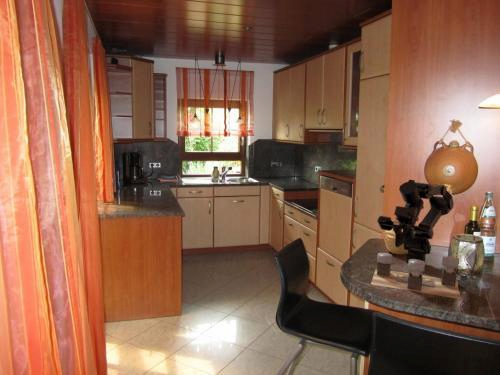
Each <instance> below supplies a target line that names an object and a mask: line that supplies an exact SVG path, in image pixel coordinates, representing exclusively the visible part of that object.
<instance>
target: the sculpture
mask: <svg viewBox="0 0 500 375" xmlns="http://www.w3.org/2000/svg"><path fill="white" fill-rule="evenodd" d="M402 231H403V229H402ZM383 241H384V244H385V247H386V249H387V250H388V252H390V254H391V253H392V254H395V255H408V250H404V243H403V244H402V245H401V246H399V247H396V246H395V233H394V231H393V228H392V230H390V231H387V230H384V231H383Z"/></svg>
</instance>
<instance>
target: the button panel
mask: <svg viewBox="0 0 500 375" xmlns="http://www.w3.org/2000/svg"><path fill="white" fill-rule="evenodd" d="M391 268H392V263H391V264H388V265H386V264H381V263H379V262H377V267H376V268H375V270H374V274H373V277H372V279H371V283H370V285H373V286H378V287H379V286H380V287H384V288H385V287H386V288H391V289H398V290H403V291H410V292H416V293H422V294H427V295H434V296H440V297H444V298H445V297H446V298H452V299H457V300H461V298H462V297H461V294H460V290H459V285H458V280H457V275H458V274H457V271H455V270H453V274H447V273H445V270H446V269H443V268H442V269H441V275H440V276H441V278H439V277H434V276H429V275H428V276H427V275H423V274H421V273H420V275H419V278H416V277H411V276H412V272H408V273H407V272H401V271H395V270H391ZM397 274H398V275H405V276H408V283H404V282H398V281H396V276H397ZM422 278H424V279H430V280H434V287H429V286H423V285H422Z"/></svg>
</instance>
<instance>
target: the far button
mask: <svg viewBox="0 0 500 375" xmlns="http://www.w3.org/2000/svg"><path fill="white" fill-rule="evenodd" d="M425 267H426V261H425V262H424V261H421V260H417V259H410V260H409V262H408V263H407V269H408V270H409V271H411V273H412V276H411V277H416V278H419V275H420V274H421V273H422V272H425Z"/></svg>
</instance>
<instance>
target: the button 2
mask: <svg viewBox="0 0 500 375" xmlns="http://www.w3.org/2000/svg"><path fill="white" fill-rule="evenodd" d="M458 264H459V259H458V258H455V257H454V256H449V255H448V256H447V255H444V256H442V259H441V266H442V267H445V269H444V270H445V273H447V274H453V271H455V270H454V269H456V268H458Z"/></svg>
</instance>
